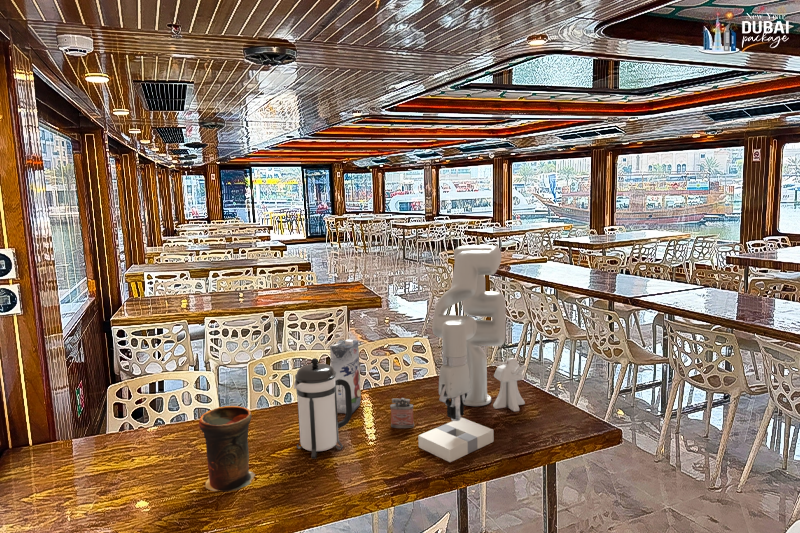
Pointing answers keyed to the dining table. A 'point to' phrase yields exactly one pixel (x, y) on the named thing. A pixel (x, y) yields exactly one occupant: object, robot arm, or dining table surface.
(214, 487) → the vessel
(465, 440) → the clevis block
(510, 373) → the toy gun turret
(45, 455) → the dining table surface
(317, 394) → the coffee press
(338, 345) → the juice carton
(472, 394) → the robot arm
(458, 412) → the steel pin
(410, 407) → the lighter
